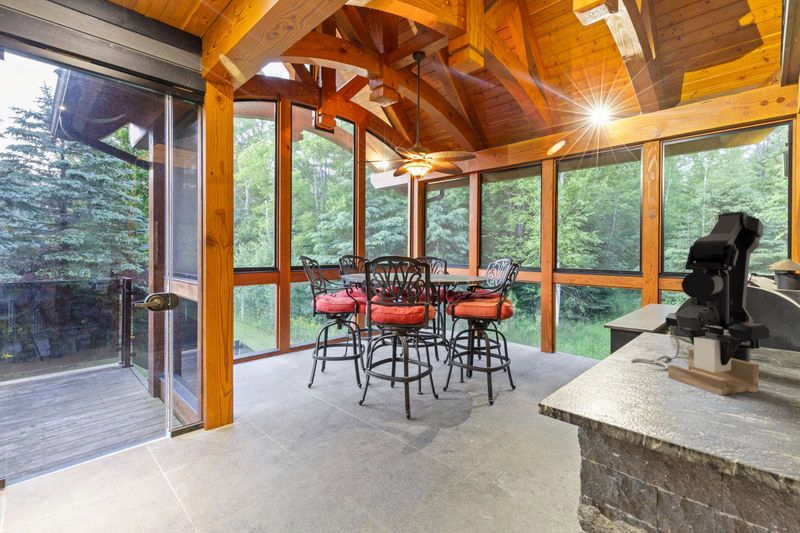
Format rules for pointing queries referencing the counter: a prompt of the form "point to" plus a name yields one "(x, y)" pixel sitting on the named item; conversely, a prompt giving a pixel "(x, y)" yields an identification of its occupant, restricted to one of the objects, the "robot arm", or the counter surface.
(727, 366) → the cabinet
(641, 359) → the hook
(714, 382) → the board
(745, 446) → the counter surface
